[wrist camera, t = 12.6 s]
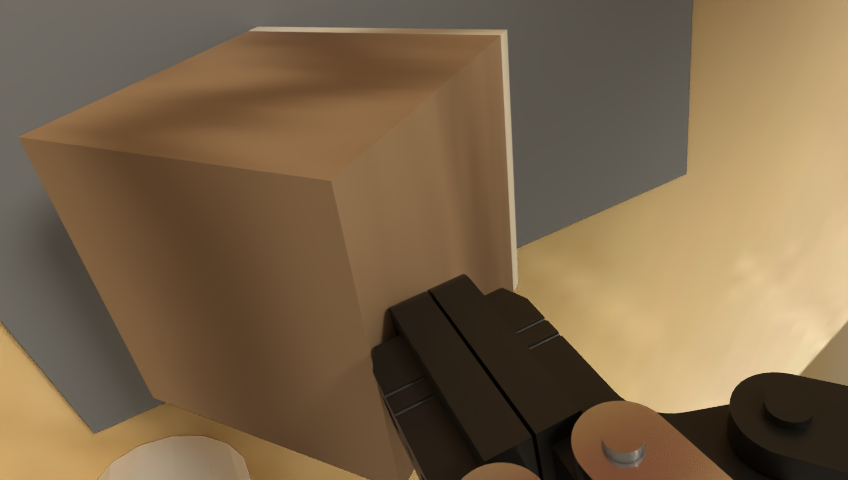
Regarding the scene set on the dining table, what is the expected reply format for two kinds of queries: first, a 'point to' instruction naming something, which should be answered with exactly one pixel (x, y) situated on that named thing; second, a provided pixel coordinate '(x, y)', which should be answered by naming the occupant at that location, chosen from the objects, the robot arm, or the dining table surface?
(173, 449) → the shot glass
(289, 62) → the walnut cube
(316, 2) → the placemat
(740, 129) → the dining table surface
